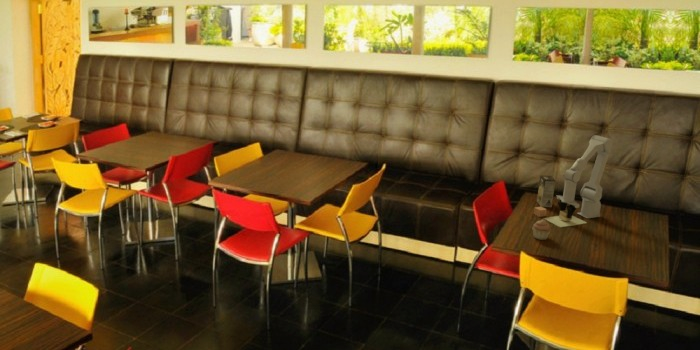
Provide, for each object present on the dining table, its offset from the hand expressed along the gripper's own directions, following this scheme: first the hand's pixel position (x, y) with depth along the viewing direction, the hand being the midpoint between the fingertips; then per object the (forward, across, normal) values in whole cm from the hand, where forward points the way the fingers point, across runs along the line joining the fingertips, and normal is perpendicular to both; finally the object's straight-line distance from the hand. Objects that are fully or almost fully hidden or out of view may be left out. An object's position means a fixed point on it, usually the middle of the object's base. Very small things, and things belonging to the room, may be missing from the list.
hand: (565, 216), depth 316 cm
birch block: (+2, 0, 0) cm, 2 cm away
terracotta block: (+3, -12, -7) cm, 14 cm away
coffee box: (+3, -24, +7) cm, 26 cm away
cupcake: (+3, +14, -28) cm, 31 cm away
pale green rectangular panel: (+3, 0, 0) cm, 3 cm away
